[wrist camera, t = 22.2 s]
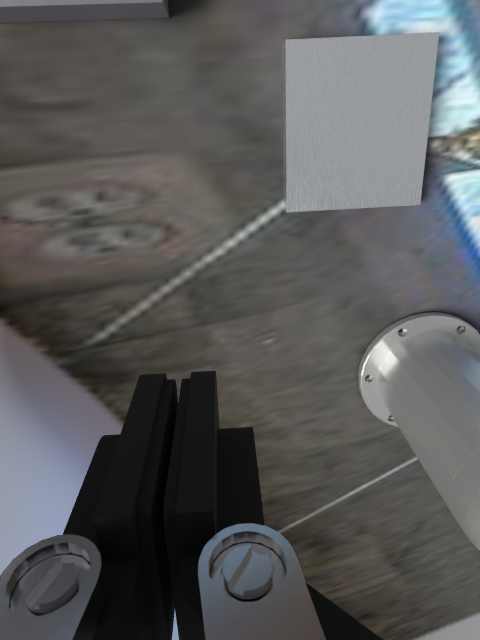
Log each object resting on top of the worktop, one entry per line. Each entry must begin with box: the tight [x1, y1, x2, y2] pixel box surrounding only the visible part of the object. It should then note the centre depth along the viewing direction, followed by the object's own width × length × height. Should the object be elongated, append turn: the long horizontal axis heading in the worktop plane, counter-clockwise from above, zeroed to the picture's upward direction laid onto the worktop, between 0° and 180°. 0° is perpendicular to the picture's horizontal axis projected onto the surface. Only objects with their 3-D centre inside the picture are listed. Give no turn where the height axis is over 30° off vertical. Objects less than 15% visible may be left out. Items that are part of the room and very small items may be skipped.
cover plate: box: [283, 32, 439, 212], centre depth 34 cm, size 2×12×11 cm
